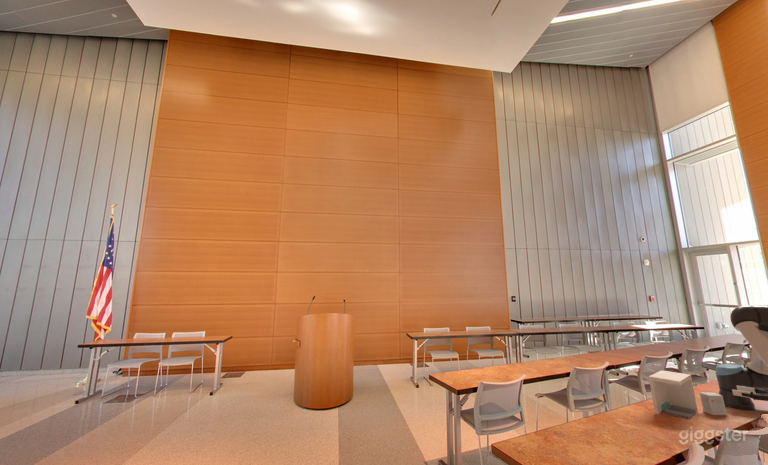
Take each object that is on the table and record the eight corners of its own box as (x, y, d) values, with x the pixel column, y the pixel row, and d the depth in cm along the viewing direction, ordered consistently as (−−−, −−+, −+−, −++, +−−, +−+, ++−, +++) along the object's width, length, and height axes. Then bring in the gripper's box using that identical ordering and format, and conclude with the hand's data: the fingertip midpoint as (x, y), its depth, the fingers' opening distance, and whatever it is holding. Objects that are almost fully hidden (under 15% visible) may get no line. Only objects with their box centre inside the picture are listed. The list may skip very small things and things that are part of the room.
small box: (717, 411, 177) (713, 392, 179) (727, 415, 172) (723, 395, 174) (702, 411, 178) (698, 392, 180) (711, 415, 173) (707, 395, 175)
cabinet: (697, 411, 179) (690, 374, 182) (687, 421, 165) (679, 381, 169) (667, 404, 189) (661, 370, 193) (655, 413, 176) (648, 376, 180)
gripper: (798, 413, 145) (732, 401, 162) (801, 403, 159) (740, 393, 176) (794, 396, 146) (729, 386, 163) (797, 388, 160) (737, 379, 177)
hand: (734, 390), depth 170 cm, fingers open, 13 cm apart
